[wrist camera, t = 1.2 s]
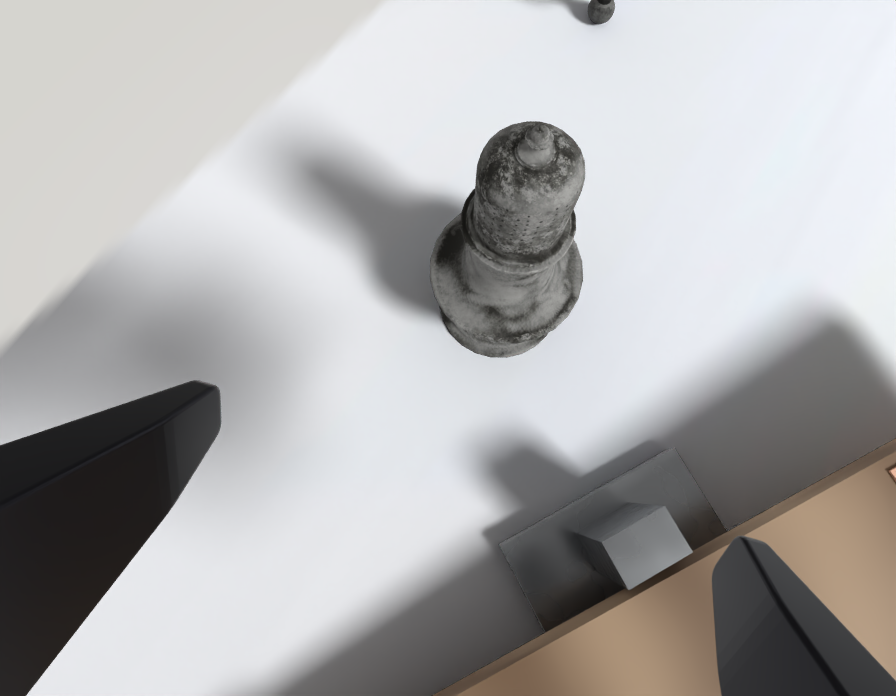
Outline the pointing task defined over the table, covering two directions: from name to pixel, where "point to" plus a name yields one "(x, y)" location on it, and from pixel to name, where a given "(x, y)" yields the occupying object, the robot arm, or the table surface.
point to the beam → (691, 600)
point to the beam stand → (611, 539)
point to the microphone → (601, 10)
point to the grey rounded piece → (513, 243)
